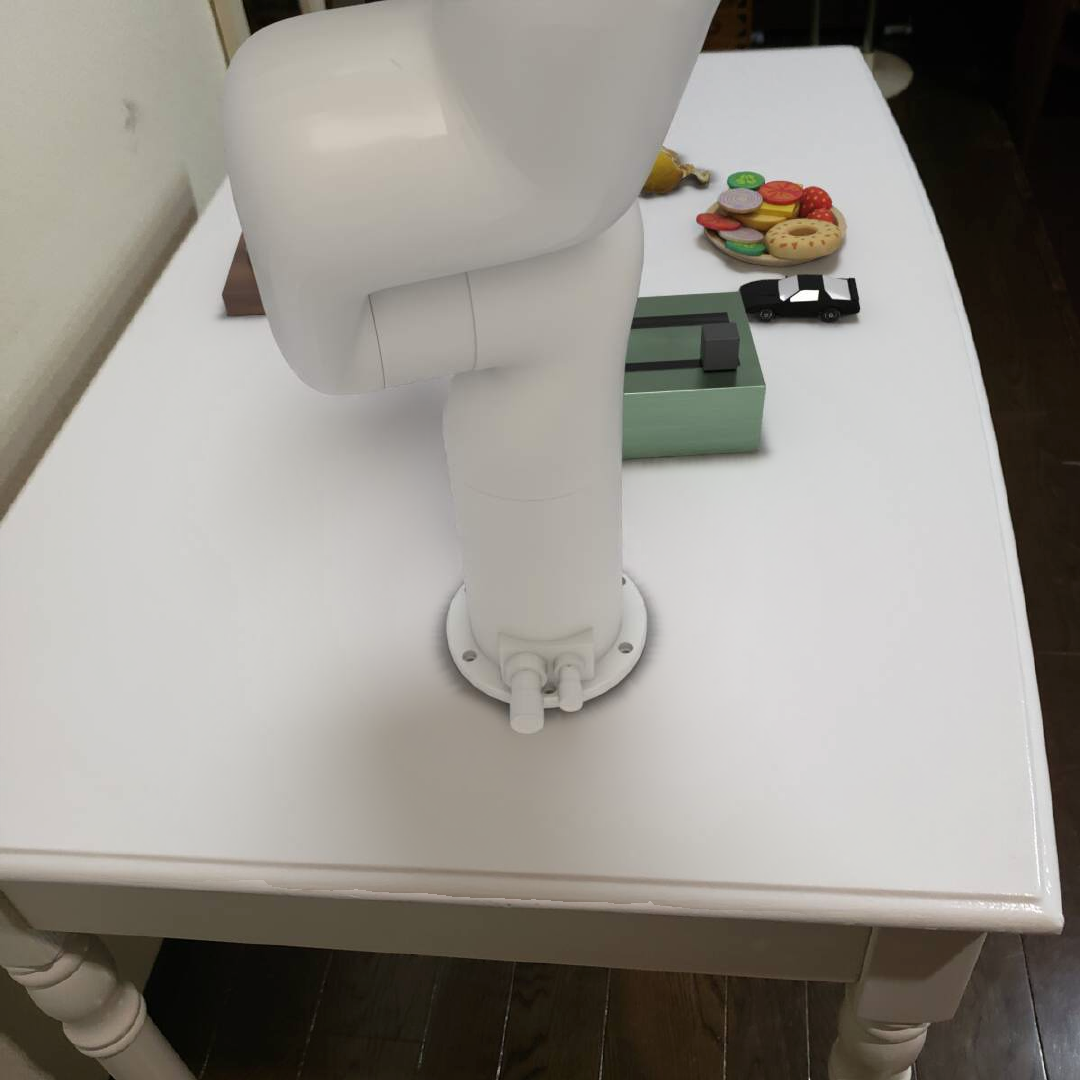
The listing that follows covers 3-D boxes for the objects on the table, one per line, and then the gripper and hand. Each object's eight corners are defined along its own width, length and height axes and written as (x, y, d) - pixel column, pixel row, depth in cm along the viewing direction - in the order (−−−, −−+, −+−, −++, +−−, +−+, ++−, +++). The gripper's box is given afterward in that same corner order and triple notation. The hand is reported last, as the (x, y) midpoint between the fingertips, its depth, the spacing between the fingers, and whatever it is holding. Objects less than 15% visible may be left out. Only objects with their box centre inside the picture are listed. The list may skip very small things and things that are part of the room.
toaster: (758, 451, 82) (766, 385, 77) (594, 460, 82) (593, 395, 78) (734, 355, 90) (740, 290, 86) (586, 363, 90) (584, 299, 86)
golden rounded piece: (720, 181, 111) (722, 146, 108) (655, 208, 107) (655, 173, 105) (667, 152, 116) (668, 117, 113) (603, 177, 112) (602, 142, 110)
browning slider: (737, 368, 79) (740, 338, 77) (703, 370, 79) (705, 340, 77) (733, 352, 80) (735, 321, 78) (699, 354, 80) (701, 323, 79)
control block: (340, 309, 98) (332, 269, 95) (227, 316, 98) (216, 276, 95) (353, 238, 106) (346, 200, 104) (249, 245, 107) (239, 206, 104)
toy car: (736, 322, 93) (738, 294, 92) (734, 295, 96) (736, 268, 94) (858, 323, 92) (863, 295, 91) (852, 296, 95) (857, 268, 93)
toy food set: (832, 284, 97) (837, 250, 94) (683, 264, 100) (684, 231, 98) (853, 208, 106) (859, 176, 103) (715, 193, 109) (717, 161, 107)
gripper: (190, -315, 57) (269, 47, 70) (479, -335, 57) (506, 33, 70) (216, -337, 63) (286, 4, 76) (481, -356, 63) (505, -10, 76)
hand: (391, 17), depth 73 cm, fingers closed
